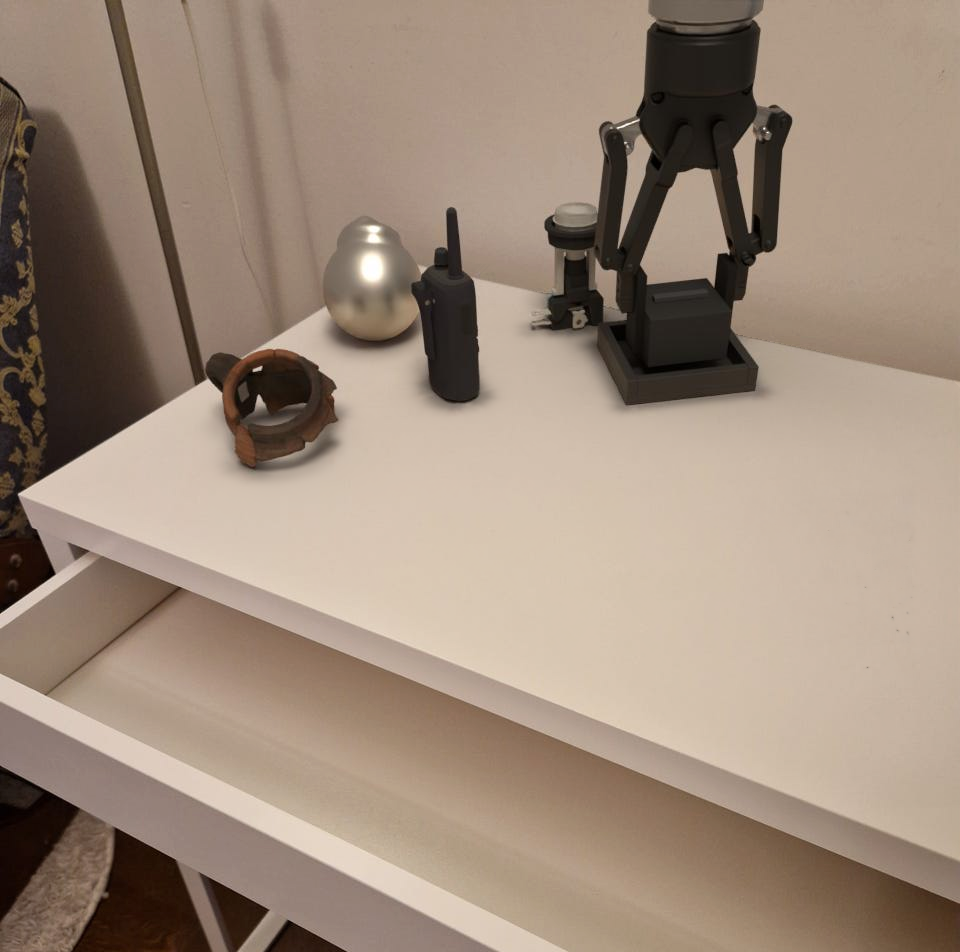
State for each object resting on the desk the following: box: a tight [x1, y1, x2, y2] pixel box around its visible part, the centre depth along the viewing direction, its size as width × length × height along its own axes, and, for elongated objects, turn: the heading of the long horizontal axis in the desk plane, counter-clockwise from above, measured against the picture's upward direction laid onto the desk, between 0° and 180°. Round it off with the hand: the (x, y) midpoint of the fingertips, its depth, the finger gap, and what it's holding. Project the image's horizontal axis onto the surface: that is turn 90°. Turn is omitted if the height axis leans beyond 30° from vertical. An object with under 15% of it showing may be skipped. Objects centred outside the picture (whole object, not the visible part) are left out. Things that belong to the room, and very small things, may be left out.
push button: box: [530, 201, 605, 331], centre depth 88 cm, size 7×5×10 cm
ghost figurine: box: [321, 215, 422, 342], centre depth 88 cm, size 9×10×10 cm
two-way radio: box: [411, 206, 481, 402], centre depth 78 cm, size 6×4×15 cm
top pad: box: [641, 277, 733, 367], centre depth 81 cm, size 6×6×4 cm
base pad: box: [596, 319, 760, 406], centre depth 83 cm, size 11×11×2 cm
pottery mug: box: [204, 348, 339, 468], centre depth 77 cm, size 12×10×8 cm
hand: (676, 342), depth 83 cm, fingers closed on top pad, 6 cm apart
